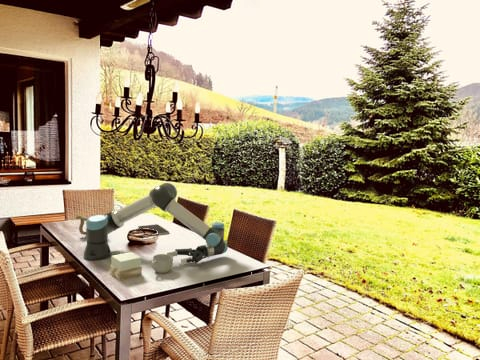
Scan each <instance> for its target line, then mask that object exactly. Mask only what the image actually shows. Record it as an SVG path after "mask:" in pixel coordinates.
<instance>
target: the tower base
mask: <svg viewBox="0 0 480 360" xmlns="http://www.w3.org/2000/svg"><path fill="white" fill-rule="evenodd" d="M142 270H143V267H142V266H141V267H137V268H133V269H129V270H124V271H120V270H118V269H117V268H115V267H114V266H112V264H109V274H110V275H111V274H112V275H111V276H113V277H114V278H115V279H117V280H118V281H124V280H127V279H132V278H135V277H136V278H137V277H139V276H142V274H143V273H142V272H143V271H142Z"/></svg>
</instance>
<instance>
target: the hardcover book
mask: <svg viewBox="0 0 480 360" xmlns="http://www.w3.org/2000/svg"><path fill="white" fill-rule="evenodd" d="M137 227H138V229H139V228H140V229H143V228H149V229H154V230H157V231H158V234H159V235H158V236H160V235H169V234H170V231H169V230H167V229H165V228H164V227H163V226H161V225H159V224H158V223H157V224H156V223H155V224H148V225H138V226H137ZM140 229H139V230H140Z"/></svg>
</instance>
